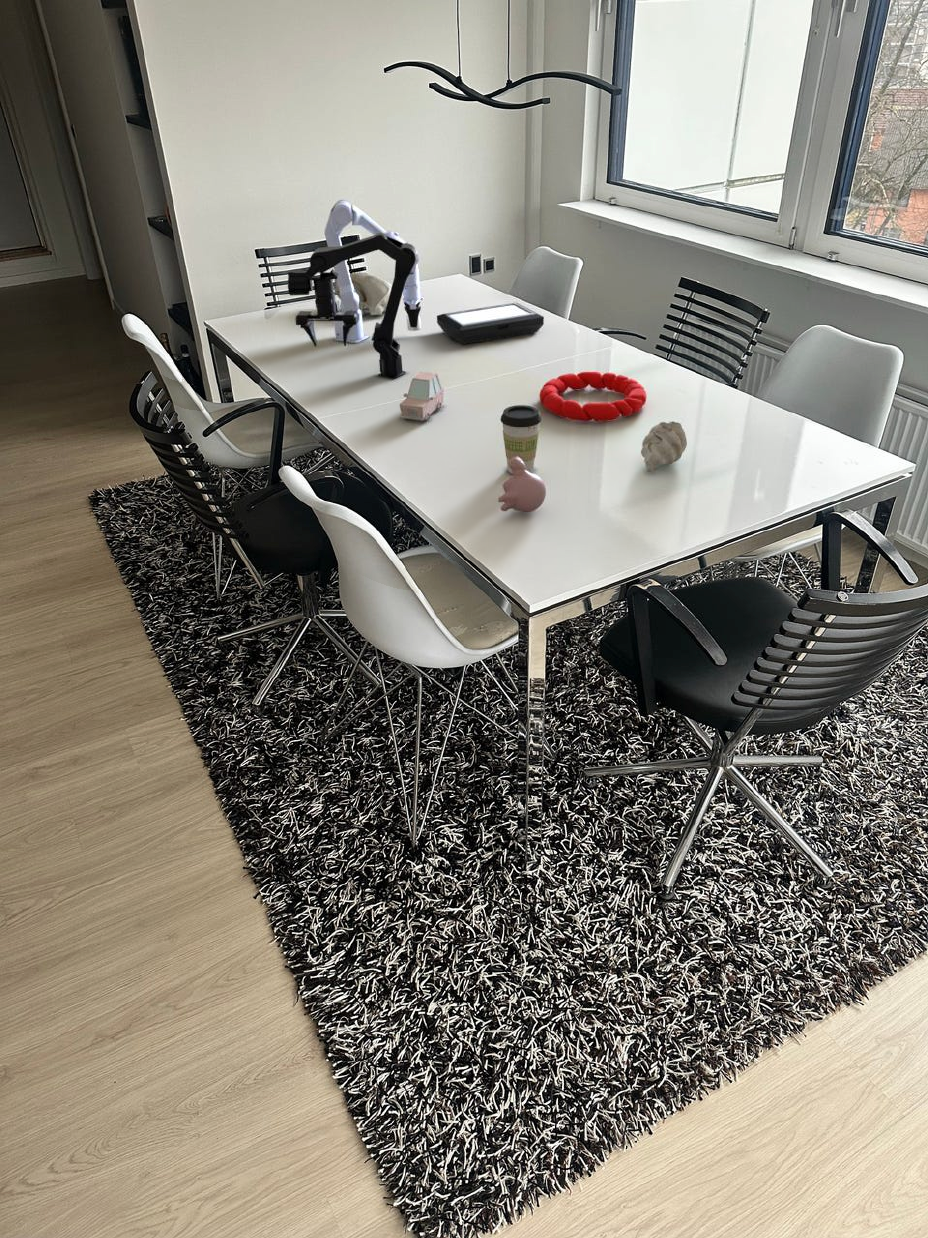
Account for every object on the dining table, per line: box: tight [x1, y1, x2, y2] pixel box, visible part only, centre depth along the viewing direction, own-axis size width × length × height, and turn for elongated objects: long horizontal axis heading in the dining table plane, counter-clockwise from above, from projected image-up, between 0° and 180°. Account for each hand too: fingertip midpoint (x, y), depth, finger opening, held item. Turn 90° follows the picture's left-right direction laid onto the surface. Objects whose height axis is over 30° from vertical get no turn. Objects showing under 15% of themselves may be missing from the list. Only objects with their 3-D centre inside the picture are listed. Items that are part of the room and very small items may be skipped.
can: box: [405, 314, 422, 332], centre depth 310 cm, size 5×5×4 cm
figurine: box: [497, 457, 547, 513], centre depth 199 cm, size 9×11×12 cm
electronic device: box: [436, 302, 545, 345], centre depth 312 cm, size 32×6×20 cm
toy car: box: [399, 371, 445, 422], centre depth 250 cm, size 9×15×10 cm, turn 158°
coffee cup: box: [499, 404, 543, 474], centre depth 216 cm, size 10×10×15 cm
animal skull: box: [333, 271, 392, 316], centre depth 336 cm, size 17×25×20 cm
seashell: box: [640, 421, 688, 473], centre depth 218 cm, size 10×15×10 cm
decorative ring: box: [539, 371, 647, 422], centre depth 253 cm, size 7×30×30 cm
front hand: (330, 346), depth 275 cm, fingers open, 9 cm apart
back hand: (413, 324), depth 311 cm, fingers closed on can, 5 cm apart
